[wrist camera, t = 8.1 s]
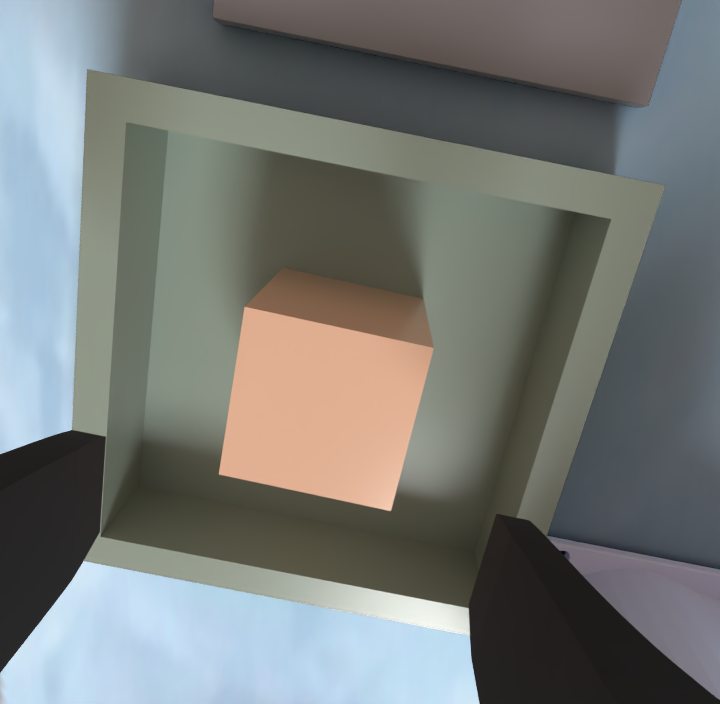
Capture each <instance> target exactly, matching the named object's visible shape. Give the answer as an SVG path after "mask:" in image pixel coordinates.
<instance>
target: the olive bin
mask: <svg viewBox="0 0 720 704" xmlns="http://www.w3.org/2000/svg"><path fill="white" fill-rule="evenodd" d="M665 186H666V185H661V184H656V183H651V182H646V181H641V180H636V179H631V178H626V177H621V176H616V175H611V174H606V173H601V172H596V171H591V170H586V169H581V168H576V167H571V166H566V165H561V164H556V163H551V162H546V161H541V160H536V159H531V158H526V157H521V156H516V155H511V154H506V153H501V152H496V151H491V150H487V149H482V148H477V147H472V146H467V145H462V144H457V143H452V142H447V141H442V140H437V139H432V138H427V137H422V136H417V135H412V134H407V133H402V132H397V131H392V130H387V129H382V128H377V127H372V126H367V125H362V124H357V123H352V122H347V121H342V120H337V119H332V118H327V117H322V116H317V115H312V114H307V113H302V112H297V111H292V110H287V109H282V108H277V107H272V106H267V105H262V104H257V103H252V102H247V101H243V100H238V99H233V98H228V97H223V96H218V95H213V94H208V93H203V92H198V91H193V90H188V89H183V88H178V87H173V86H168V85H163V84H158V83H153V82H148V81H143V80H138V79H133V78H128V77H123V76H118V75H113V74H108V73H103V72H98V71H93V70H88V69H87V87H86V111H85V135H84V159H83V182H82V206H81V230H80V254H79V278H78V302H77V326H76V350H75V374H74V398H73V422H72V430H75V431H80V432H85V433H90V434H96V435H101V436H106V444H105V460H104V475H103V491H102V507H101V522H100V533H99V534H98V536H97V538H96V540H95V542H94V543H93V545H92V547H91V549H90V550H89V552H88V554H87V556H86V557H85V559H84V561H87V562H92V563H97V564H102V565H107V566H113V567H118V568H123V569H128V570H133V571H138V572H144V573H149V574H154V575H159V576H164V577H169V578H175V579H180V580H185V581H190V582H195V583H200V584H206V585H211V586H216V587H221V588H226V589H231V590H237V591H242V592H247V593H252V594H257V595H262V596H268V597H273V598H278V599H283V600H288V601H293V602H299V603H304V604H309V605H314V606H319V607H324V608H329V609H335V610H340V611H345V612H350V613H355V614H360V615H366V616H371V617H376V618H381V619H386V620H391V621H397V622H402V623H407V624H412V625H417V626H422V627H428V628H433V629H438V630H443V631H448V632H453V633H459V634H464V635H469V636H470V625H469V601H470V598H471V595H472V592H473V588H474V585H475V582H476V578H477V575H478V572H479V569H480V565H481V562H482V559H483V556H484V552H485V549H486V546H487V543H488V539H489V536H490V533H491V529H492V526H493V523H494V520H495V516H496V514H500V515H505V516H510V517H516V518H521V519H526V520H530V521H531V522H532V523H533V524H534V525H535V526H536V527H537V528H538V529H539V530H540V531H541V532H542V533H543V534H544V535H545V536H546V537H547V534H548V531H549V528H550V525H551V522H552V519H553V516H554V513H555V510H556V507H557V504H558V501H559V498H560V495H561V492H562V489H563V487H564V484H565V481H566V478H567V475H568V472H569V469H570V466H571V463H572V460H573V457H574V454H575V451H576V448H577V445H578V442H579V439H580V436H581V433H582V431H583V428H584V425H585V422H586V419H587V416H588V413H589V410H590V407H591V404H592V401H593V398H594V395H595V392H596V389H597V386H598V383H599V380H600V377H601V375H602V372H603V369H604V366H605V363H606V360H607V357H608V354H609V351H610V348H611V345H612V342H613V339H614V336H615V333H616V330H617V327H618V324H619V321H620V319H621V316H622V313H623V310H624V307H625V304H626V301H627V298H628V295H629V292H630V289H631V286H632V283H633V280H634V277H635V274H636V271H637V268H638V266H639V263H640V260H641V257H642V254H643V251H644V248H645V245H646V242H647V239H648V236H649V233H650V230H651V227H652V224H653V221H654V218H655V215H656V212H657V210H658V207H659V204H660V201H661V198H662V195H663V192H664V189H665ZM282 268H286V269H290V270H295V271H300V272H304V273H309V274H313V275H318V276H322V277H327V278H331V279H336V280H341V281H345V282H350V283H354V284H359V285H363V286H368V287H373V288H377V289H382V290H386V291H391V292H395V293H400V294H404V295H409V296H414V297H418V298H423V299H424V303H425V308H426V313H427V318H428V322H429V327H430V332H431V337H432V341H433V346H434V349H433V353H432V357H431V361H430V365H429V368H428V372H427V376H426V380H425V384H424V387H423V391H422V395H421V399H420V403H419V406H418V410H417V414H416V418H415V422H414V425H413V429H412V433H411V437H410V441H409V444H408V448H407V452H406V456H405V460H404V463H403V467H402V471H401V475H400V479H399V482H398V486H397V490H396V494H395V498H394V501H393V505H392V509H391V511H388V510H383V509H379V508H374V507H369V506H364V505H360V504H355V503H350V502H346V501H341V500H336V499H332V498H327V497H322V496H318V495H313V494H308V493H304V492H299V491H294V490H290V489H285V488H280V487H276V486H271V485H266V484H262V483H257V482H252V481H247V480H243V479H238V478H233V477H229V476H224V475H219V469H220V463H221V456H222V450H223V444H224V437H225V431H226V424H227V418H228V411H229V405H230V398H231V392H232V385H233V379H234V372H235V366H236V359H237V353H238V346H239V340H240V333H241V327H242V320H243V314H244V307H245V306H246V305H247V304H248V303H249V302H250V301H251V300H252V299H253V298H254V297H255V296H256V295H257V294H258V293H259V292H260V291H261V290H262V289H263V288H264V287H265V286H266V285H267V284H268V283H269V281H270V280H271V279H272V278H273V277H274V276H275V275H276V274H277V273H278V272H279V271H280V270H281V269H282Z"/></svg>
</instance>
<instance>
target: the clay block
mask: <svg viewBox="0 0 720 704" xmlns="http://www.w3.org/2000/svg"><path fill="white" fill-rule="evenodd" d="M433 349H434V346H433V341H432V337H431V332H430V327H429V322H428V318H427V313H426V308H425V303H424V299H423V298H418V297H414V296H409V295H404V294H400V293H395V292H391V291H386V290H382V289H377V288H373V287H368V286H363V285H359V284H354V283H350V282H345V281H341V280H336V279H331V278H327V277H322V276H318V275H313V274H309V273H304V272H300V271H295V270H290V269H286V268H282V269H281V270H280V271H279V272H278V273H277V274H276V275H275V276H274V277H273V278H272V279H271V280H270V281H269V283H268V284H267V285H266V286H265V287H264V288H263V289H262V290H261V291H260V292H259V293H258V294H257V295H256V296H255V297H254V298H253V299H252V300H251V301H250V302H249V303H248V304H247V305H246V306H245V307H244V314H243V320H242V327H241V333H240V340H239V346H238V353H237V359H236V366H235V372H234V379H233V385H232V392H231V398H230V405H229V411H228V418H227V424H226V431H225V437H224V444H223V450H222V456H221V463H220V469H219V475H224V476H229V477H233V478H238V479H243V480H247V481H252V482H257V483H262V484H266V485H271V486H276V487H280V488H285V489H290V490H294V491H299V492H304V493H308V494H313V495H318V496H322V497H327V498H332V499H336V500H341V501H346V502H350V503H355V504H360V505H364V506H369V507H374V508H379V509H383V510H388V511H391V509H392V505H393V501H394V498H395V494H396V490H397V486H398V482H399V479H400V475H401V471H402V467H403V463H404V460H405V456H406V452H407V448H408V444H409V441H410V437H411V433H412V429H413V425H414V422H415V418H416V414H417V410H418V406H419V403H420V399H421V395H422V391H423V387H424V384H425V380H426V376H427V372H428V368H429V365H430V361H431V357H432V353H433Z"/></svg>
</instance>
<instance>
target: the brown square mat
mask: <svg viewBox="0 0 720 704" xmlns="http://www.w3.org/2000/svg"><path fill="white" fill-rule="evenodd" d="M681 1H682V0H214V5H213V15H212V18H214V19H215V20H216V21H217V22H219V23H220V24H224V25H229V26H234V27H239V28H244V29H249V30H254V31H259V32H264V33H269V34H274V35H279V36H284V37H289V38H294V39H298V40H303V41H308V42H313V43H318V44H323V45H328V46H333V47H338V48H343V49H348V50H353V51H358V52H363V53H368V54H373V55H378V56H383V57H388V58H393V59H398V60H403V61H407V62H412V63H417V64H422V65H427V66H432V67H437V68H442V69H447V70H452V71H457V72H462V73H467V74H472V75H477V76H482V77H487V78H492V79H497V80H502V81H507V82H511V83H516V84H521V85H526V86H531V87H536V88H541V89H546V90H551V91H556V92H561V93H566V94H571V95H576V96H581V97H586V98H591V99H596V100H601V101H606V102H611V103H616V104H620V105H625V106H630V107H635V108H639V107H644V106H648V105H649V102H650V99H651V96H652V93H653V90H654V86H655V83H656V80H657V77H658V74H659V71H660V67H661V64H662V61H663V58H664V55H665V52H666V49H667V45H668V42H669V39H670V36H671V33H672V30H673V27H674V23H675V20H676V17H677V14H678V11H679V8H680V4H681Z"/></svg>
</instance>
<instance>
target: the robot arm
mask: <svg viewBox="0 0 720 704" xmlns="http://www.w3.org/2000/svg"><path fill="white" fill-rule="evenodd" d="M105 444H106V436H101V435H96V434H90V433H85V432H80V431H75V430H71V431H67V432H63V433H60V434H57V435H54V436H50V437H47V438H45V439H42V440H39V441H36V442H33V443H30V444H28V445H25V446H22V447H19V448H17V449H14V450H11V451H8V452H6V453H3V454H0V672H1V671H2V670H3V668H4V667H5V666H6V665H7V663H8V662H9V661H10V659H11V658H12V657H13V656H14V654H15V653H16V652H17V650H18V649H19V648H20V647H21V645H22V644H23V643H24V642H25V640H26V639H27V638H28V636H29V635H30V634H31V633H32V631H33V630H34V629H35V627H36V626H37V625H38V624H39V622H40V621H41V620H42V619H43V617H44V616H45V615H46V613H47V612H48V611H49V609H50V608H51V607H52V606H53V604H54V603H55V602H56V600H57V599H58V598H59V596H60V595H61V594H62V592H63V591H64V590H65V589H66V587H67V586H68V584H69V583H70V582H71V580H72V579H73V577H74V576H75V574H76V572H77V571H78V569H79V567H80V566H81V564H82V562H83V561H84V559H85V557H86V556H87V554H88V552H89V550H90V549H91V547H92V545H93V543H94V542H95V540H96V538H97V536H98V534H99V533H100V522H101V507H102V491H103V475H104V460H105ZM560 551H566V553H565V554H564V555H563V554H562V553H561V552H560ZM469 625H470V642H471V657H472V663H473V669H474V675H475V680H476V686H477V691H478V697H479V702H480V704H720V570H719V569H714V568H709V567H704V566H699V565H694V564H689V563H684V562H679V561H673V560H668V559H663V558H658V557H653V556H648V555H643V554H638V553H632V552H627V551H622V550H617V549H612V548H607V547H602V546H597V545H591V544H586V543H581V542H576V541H571V540H566V539H561V538H556V537H551V536H547V537H546V536H545V535H544V534H543V533H542V532H541V531H540V530H539V529H538V528H537V527H536V526H535V525H534V524H533V523H532V522H531V521H530V520H526V519H521V518H516V517H510V516H505V515H500V514H496V516H495V520H494V523H493V526H492V529H491V533H490V536H489V539H488V543H487V546H486V549H485V552H484V556H483V559H482V562H481V565H480V569H479V572H478V575H477V578H476V582H475V585H474V588H473V592H472V595H471V598H470V601H469Z"/></svg>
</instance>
